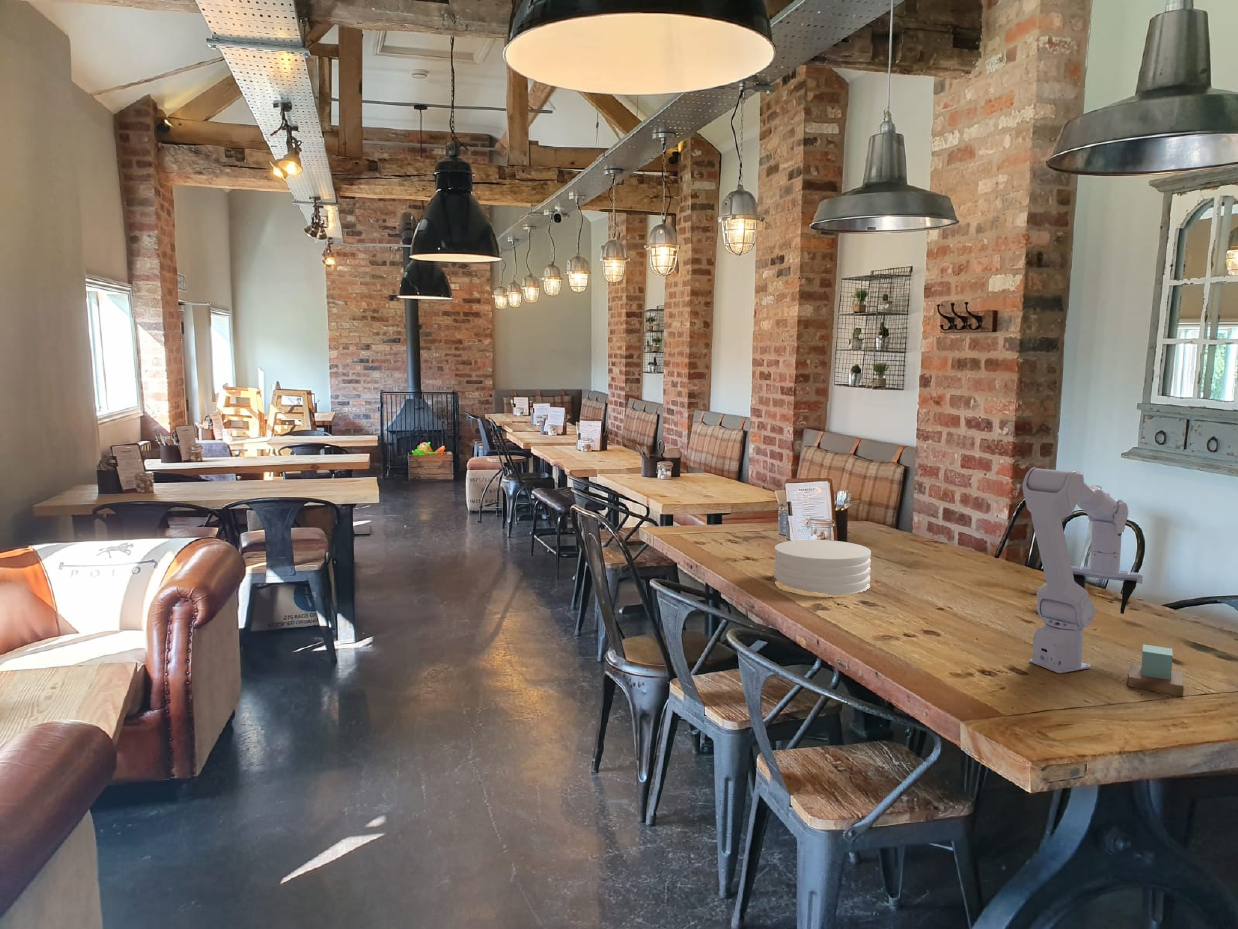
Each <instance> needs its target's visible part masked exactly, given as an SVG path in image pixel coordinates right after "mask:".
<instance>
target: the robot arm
mask: <svg viewBox="0 0 1238 929" xmlns="http://www.w3.org/2000/svg"><path fill="white" fill-rule="evenodd" d="M1102 489H1103V487H1102V486H1100V485H1096V484H1092V485H1088V484H1087V483H1086V482H1085V478H1084V474H1082V473H1080V471H1077V470H1073V471H1072V470H1060V469H1059V470H1057V469H1049V468H1048V469H1047V468H1046V469H1045V468H1038V467H1031V468H1029V470H1028V471H1027V472H1026V474H1025V476H1024V478H1023V482H1022V493H1023V496H1024V501H1025V506H1026V509H1027V511H1029V513H1030V515H1031V521H1032V526H1033V529H1034V530H1033V531H1034V534H1035V538H1036V539H1035V540H1036V543H1037V548H1038V551H1039V555H1040V560H1041V563H1042V568H1043V569H1042V570H1043V573H1044V577H1045V581H1046V582H1045V583H1043V584H1042V585H1041V586H1040V588H1038V590H1037V593H1036V599H1037V600H1036V612H1037V614H1038V616H1039V617H1040V618H1042V623H1044V624H1043V626H1041V627H1039V628H1037V629H1036V630H1035V632H1034V633H1033V638H1032V641H1033V642H1032V657H1031V658H1030V659H1028V662H1029V663H1032V664H1034V665H1036V666H1039V667H1042V668H1044V669H1047V670H1049V671H1052V672H1055V673H1057V674H1063V673H1068V672H1069V673H1070V672H1074V671H1080V670H1085V669H1086V670H1087V669H1091V668H1092V665H1090V664H1088V663H1085V662H1083V649H1084V648H1083V644H1084V629H1086V628H1088V627H1089V626H1090V625H1091V624H1092V623H1093V621H1094V618H1095V613H1096V611H1095V610H1096V608H1095V604H1094V602H1093V601H1092V599H1091V598H1090V595H1089V592H1088V591H1087V590H1086V584H1087V583H1086V582H1087V578H1092V579H1093V578H1094V579H1101V580H1104V579H1105V580H1112V581H1121V582H1122V592H1121V593H1122V594H1121V595H1122V597H1121V605H1120V610H1119V611H1120V612H1119V613H1120V614H1121V615H1124V614H1125V610H1126V607H1127V606H1126V605H1127V604H1128V601H1129V599H1130V598H1131V596H1132V594H1133V593H1134V590H1135V589H1136V588H1137V584H1139V585H1140V584H1143V576H1144V574H1143V572H1142V573H1141V572H1133V571H1127V570H1123V569H1120V568H1121V552H1122V534H1123V533H1125V530H1126V529H1125V528H1126V522H1127V520H1128V517H1129V508H1128V507H1129V506H1128V504H1127V503H1126V502H1124V501H1123V500H1122V499H1117V498H1116V499H1115V498H1113V496H1111V494H1109V493H1107V492H1105V491H1104V490H1102ZM1076 506H1078V508H1080V510H1082V511H1083V512H1085V513H1086V514H1087V519H1088V521H1089V522H1092V523H1091V524H1092V525H1091V526H1092V528H1091V529H1092V530H1091V544H1090V545H1091V546H1090V559H1089V560H1090V561H1089V562H1090V563H1089V566H1079V565H1078V566H1077V565H1072V564H1071V560H1070V554H1069V550H1068V545H1067V540H1066V537H1065V531H1064V528H1063V527H1064V526H1063V522H1062V520H1063V519H1065V518H1067V517H1070V516H1071V515H1072V514H1073V511H1074V510H1075V508H1076Z"/></svg>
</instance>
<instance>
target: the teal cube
mask: <svg viewBox="0 0 1238 929" xmlns="http://www.w3.org/2000/svg"><path fill="white" fill-rule="evenodd" d="M1173 655H1174V654H1173V648H1170V647H1169V648H1168V647H1163V646H1157V645H1149V644H1142V654H1141V666H1142V668H1141V675H1143V676H1149V677H1155V678H1161V679H1167V680H1171V672H1172V669H1173V658H1174V657H1173Z"/></svg>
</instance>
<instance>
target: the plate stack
mask: <svg viewBox="0 0 1238 929" xmlns="http://www.w3.org/2000/svg"><path fill="white" fill-rule="evenodd" d="M774 552H775V554H774V575H773V576H774V579H775V578H776V579H777V580H778V582H780V583H782V584H783V585H787V586H789V587H791V588H794V589H799V590H803V591H807V592H818V593H825V594H826V593H827V594H828V595H842V594H845V595H846V594H854V593H858V592H863V591H866V590H867V589H869V588H870V589H871V584H870V583H871V575H870V574H871V570H872V569H871V565H872V564H871V563H872V559H871V556H872V550H871V549H870V548H868V547H866V546H864V545H861V544H857V543H852V542H848V541H847V542H846V541H840V540H839V541H838V540H831V539H830V540H829V539H798V540H790V541H783V542H781V543H778V544H776V545H775V546H774Z"/></svg>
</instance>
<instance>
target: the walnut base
mask: <svg viewBox="0 0 1238 929" xmlns="http://www.w3.org/2000/svg"><path fill="white" fill-rule="evenodd" d="M1141 668H1142V664H1141V665H1140V664H1133V663H1130V664H1129V675H1128V687H1129V686H1130V688H1134V689H1135V688H1136V689H1140V688H1141V689H1142V690H1146V691H1147V690H1148V691H1153V692H1158V691H1160V692H1159V693H1164V694H1168V695H1169V694H1171V695H1175V696H1176V695H1177V696H1181V695H1182V697H1184V688H1185V687H1184V686H1185V685H1184V675H1183V674H1184V673H1183V671H1178V670H1172V672H1171V680H1167V679H1161V678H1155V677H1149V676H1143V675H1141Z"/></svg>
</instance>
